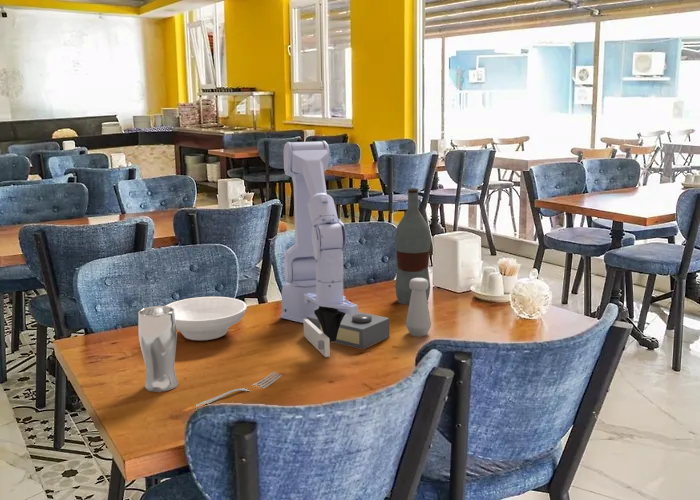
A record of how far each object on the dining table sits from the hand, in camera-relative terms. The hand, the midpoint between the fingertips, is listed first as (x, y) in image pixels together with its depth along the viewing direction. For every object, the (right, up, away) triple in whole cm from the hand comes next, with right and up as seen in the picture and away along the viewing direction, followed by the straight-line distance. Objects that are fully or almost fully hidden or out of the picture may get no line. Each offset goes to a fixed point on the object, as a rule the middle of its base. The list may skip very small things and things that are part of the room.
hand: (330, 340), depth 159 cm
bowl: (-29, -1, +11) cm, 31 cm away
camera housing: (+4, 0, +10) cm, 10 cm away
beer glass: (-32, -7, -18) cm, 37 cm away
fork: (-19, -8, -23) cm, 31 cm away
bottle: (+21, +6, +38) cm, 43 cm away
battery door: (-4, -2, +3) cm, 5 cm away
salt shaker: (+20, 0, +11) cm, 23 cm away
